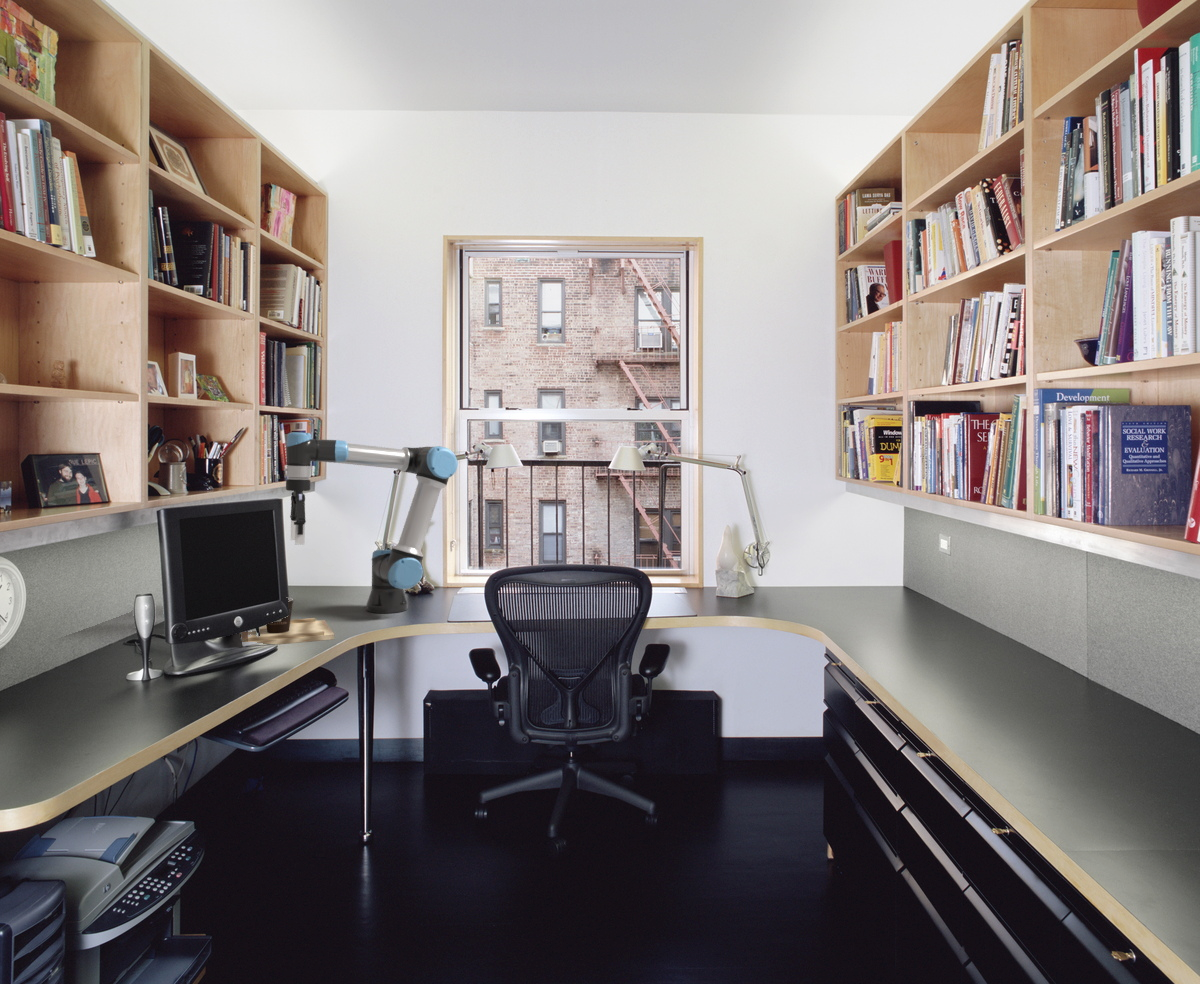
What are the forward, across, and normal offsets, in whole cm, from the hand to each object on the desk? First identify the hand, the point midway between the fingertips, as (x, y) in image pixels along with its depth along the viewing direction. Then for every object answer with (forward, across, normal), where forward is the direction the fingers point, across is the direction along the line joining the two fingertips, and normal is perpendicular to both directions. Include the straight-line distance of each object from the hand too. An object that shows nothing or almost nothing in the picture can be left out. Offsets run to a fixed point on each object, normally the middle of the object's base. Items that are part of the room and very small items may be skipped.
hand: (297, 542), depth 235 cm
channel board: (+29, +10, -4) cm, 31 cm away
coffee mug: (+27, +9, -8) cm, 30 cm away
